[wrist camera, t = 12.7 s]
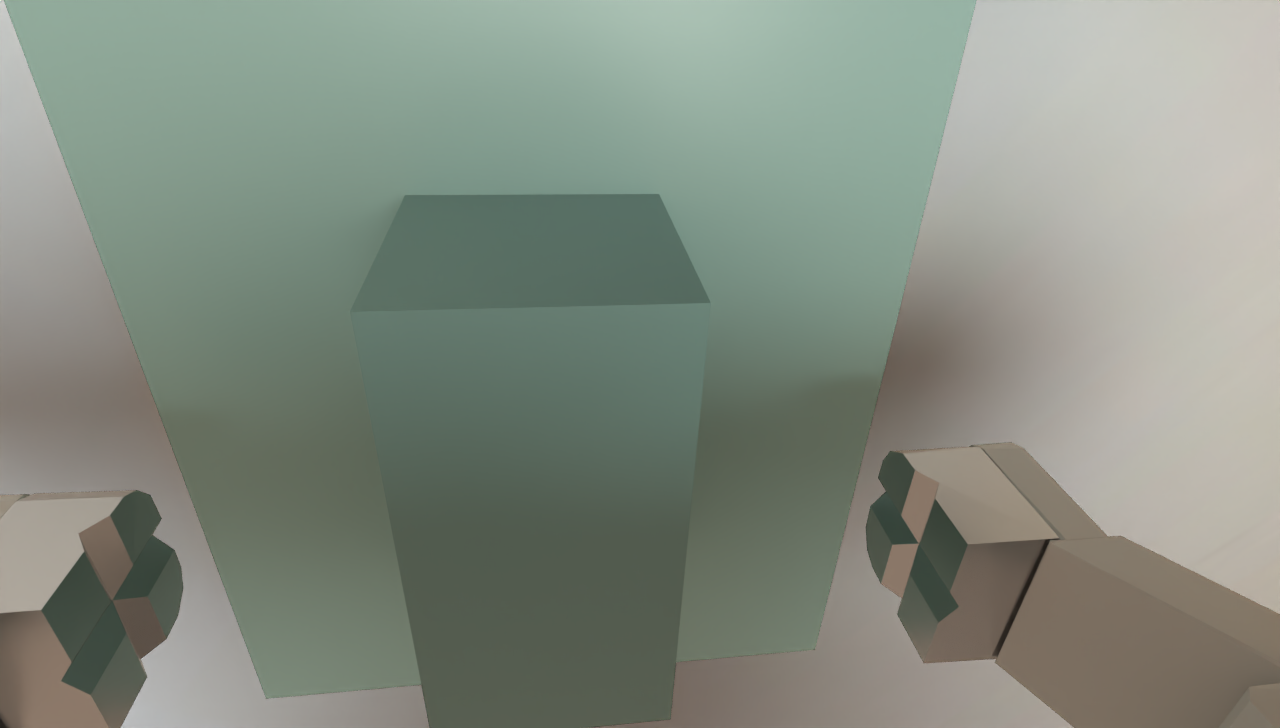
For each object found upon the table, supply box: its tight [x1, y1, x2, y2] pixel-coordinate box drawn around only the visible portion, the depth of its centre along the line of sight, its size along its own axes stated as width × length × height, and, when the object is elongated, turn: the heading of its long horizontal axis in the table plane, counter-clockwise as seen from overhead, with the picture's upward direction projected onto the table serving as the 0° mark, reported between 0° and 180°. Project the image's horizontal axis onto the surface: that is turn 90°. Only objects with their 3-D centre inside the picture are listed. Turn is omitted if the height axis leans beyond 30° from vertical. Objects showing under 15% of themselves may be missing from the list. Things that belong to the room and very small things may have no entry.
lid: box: [4, 0, 976, 728], centre depth 10 cm, size 12×10×5 cm
